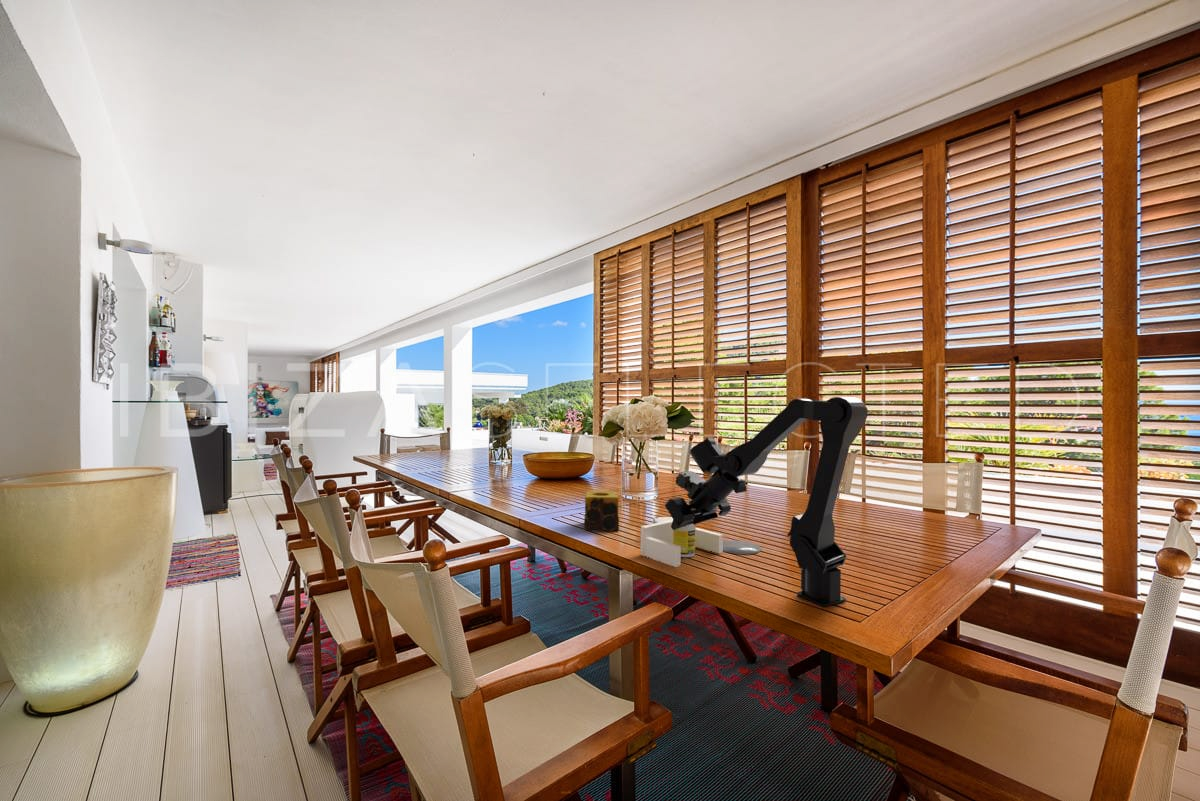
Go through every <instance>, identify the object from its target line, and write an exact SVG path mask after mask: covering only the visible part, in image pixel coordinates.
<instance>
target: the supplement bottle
mask: <svg viewBox="0 0 1200 801" xmlns="http://www.w3.org/2000/svg"><path fill="white" fill-rule="evenodd" d="M692 521H693V520H692ZM695 527H696V524H695V525H694V524H690V525H687V526H684V527H681V528H678V529H675V530H673V544H675V545H678V546H681V558H691V557H694V556H695V554H696V547H695Z"/></svg>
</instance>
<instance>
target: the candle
mask: <svg viewBox="0 0 1200 801" xmlns="http://www.w3.org/2000/svg"><path fill="white" fill-rule="evenodd" d="M584 506H585V507H584V519H583V520H584V522H583V525H584V529H583V530H584V531H586V532H619V531H620V526H619V524H620V518H619V495H618V491H614V490H613V491H611V490H610V491H609V490H592V491H591V490H587V491H585V496H584Z"/></svg>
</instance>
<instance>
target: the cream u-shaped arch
mask: <svg viewBox="0 0 1200 801" xmlns="http://www.w3.org/2000/svg"><path fill="white" fill-rule="evenodd" d="M672 522H673V520H668V521H664V522H659V523H655V524H653V523H651V524H645V525H641V526H640V556H642V555H644V556H643V557H645V556H647V557H646V558H648V557H650V558H649V559H651V558H652V559H651V560H654V561H656V562H659V561H660V562H659V563H662V564H665V565H669V566H672V567H674V568H678V567H680V566H681V560H682V559H681V558H682V557H681V546H678V545H675V544H673V529H672V528H671V525H672ZM723 541H724V534H722V533H719V532H714V531H710V530H708V529H707V530H706V529H703V528H698V527H696V526H695V548H699V549H701V550H702V549H703V550H706V551H707V552H711V551H712V553H715V554H719V553H720V554H722V553H723V552H724V551H723ZM720 554H719V555H720Z"/></svg>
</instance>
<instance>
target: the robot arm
mask: <svg viewBox="0 0 1200 801" xmlns="http://www.w3.org/2000/svg"><path fill="white" fill-rule="evenodd" d="M868 414H869V410H868V407H867V405H866V404H865V402H863V401H862V400H861V399H860V398H857V397H854V396H853V397H852V396H850V397H849V396H833V397H831V398H829V399H828V400H817V399H816V400H815V399H809V398H794V399H792V400H791V401H789V403H788V404H787V406H786V407H785V408H784V409H782V410H781V411H780V412H779V413H778V414H777V415H776V416H775V417H774V418H773V419H772V420H770V422H769V423H767V425H765V426H764V427H763V428H762V429H761V430H760V431H759V432H757V433H756V435H755V436H753V437H752V438H750V439H749V440H747V441H746V442H743V443H742V444H739V445H737V446H736V447H734V448H731V450H729V451H728V452H726V453H724V452H723V451H722V450H721V449H720V447H719V445H718V444H717V442H716V441H715V439H714V438H713V437H706V438H705V439H704V440H703V441H700V442H698V443H697V444H695V445H693V446H692V447H691V449H690V451H689V454H690V457H692V459H693V461H694V462H695V464H696V465H697V466H698V467H699V469H700V470H701V472H702V473H705V474H707V473H708V474H709V475H711V476H709V478H708V479H706V480H705V479H704V477H701V476H700V475H699V474H697V472H695V471H692V470H688V471H682V472H680V473H678V475H676V476H675V484H676V485H677V486H678V487H679V488H681V489H684V490H685V491H686V492H688V493H687V494H686V495H687V498H688V499H690V500H689V501H688V503H687V502H686V501H685V498H683V497H679V496H677V497H673V498H669V499H668V500H667V501H665V503H664V506H665V509H666V510H667V512H668V514H669V515H670V517H672V518H673V522H672V525H671V528H672V529H673V530H675V529H678V528H681V527H684V526H687V525H690V524H694V525H695V526H696V525H697V524H701V523H704V522H707V521H711V520H714V519H716V518H717V519H718V517H722V516H723V517H724V516H726V515H728V513H730V512H731V506H732V505H731V504H730V502H729V501H728V499H727V497H728V496H730V494H731V493H732V492H733V491H734V492H735V494H741V493H746V492H747V485H746V480H745V479H741V478H740V477H741V476H747V475H754V474H756V473H757V472H758V471H759V470H760V469H761V468H762V467H763V465H764V464H765V463H766V462H767V458H768V456H769V454H770V453H771V452H772V451H773V450H775V448H776V447H777V446H778V445H780V444H781V443H782V442H783V441H784V440H785V439H786V438H788V437H789V436H790V435H791V434H792V433H793V432H794V431H796V429H798V428H799V427H800V426H801V425H803V423H804V422H806V421H807V420H809V421H810V420H811V421H819V422H820V423H819V424H820V425H819V427H820V432H821V437H822V444H821V449H820V453H819V457H818V462H817V465H816V468H815V469H816V470H815V473H814V477H813V482H812V486H811V489H810V493H809V498H808V501H807V505H806V508H805V509H806V510H805V511H804V513H801V514H798V515H794V516H792V519H791V523H790V525H791V526H790V530H789V532H788V533H787V537H790V538H789V546H790V548H791V549H792V551H793V552H794V555H795V558H796V561H797V565H798V568H800V570H801V571H800V577H801V578H800V591H797V592H796V595H797V596H798V597H800V598H802V599H805V600H807V601H810V602H812V603H815V604H817V605H819V606H821V607H827V606H832V605H835V604H839V603H843V602H846V601H847V597H845V596H842V595H841V594H842V593H841V592H842V591H841V587H842V586H841V583H842V580H841V579H842V577H841V576H842V570H841V569H839V568H838V567H839V566H844V564H845V562H846V560H847V554H846V553H845V552H844V551H843V550H842V548H841V547H840V546H839V545H838V544H837V542H836V541H835V534H836V526H835V523H834V519H833V513H834V508H835V505H836V500H837V498H838V494H839V490H840V486H841V481H842V478H843V474H844V470H845V466H846V462H847V459H848V454H849V450H850V448H851V445H852V444H853V442H854V440H856V438H857V437H858V435H860V433H861V431H862V429H863V427H864V424H865V422H866V421H867V418H868ZM717 508H718V509H719V510H720V511H719V512H718V513H717V511H718V509H717ZM692 520H693V521H692Z"/></svg>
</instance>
